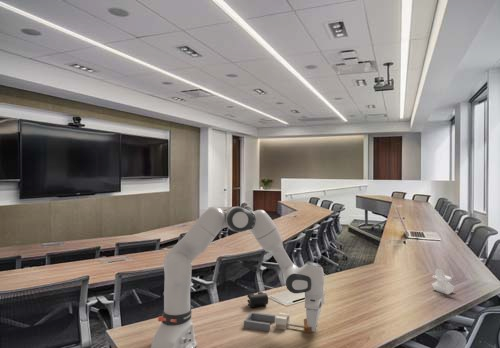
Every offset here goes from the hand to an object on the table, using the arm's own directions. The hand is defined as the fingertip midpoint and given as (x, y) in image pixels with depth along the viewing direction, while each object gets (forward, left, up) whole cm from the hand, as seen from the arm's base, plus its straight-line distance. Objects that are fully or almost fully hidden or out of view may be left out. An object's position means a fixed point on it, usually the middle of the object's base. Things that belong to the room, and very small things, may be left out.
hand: (314, 328), depth 152 cm
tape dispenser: (+78, -68, -2) cm, 103 cm away
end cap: (+21, +34, -2) cm, 40 cm away
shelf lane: (0, +26, -2) cm, 26 cm away
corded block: (+1, +9, -2) cm, 10 cm away
